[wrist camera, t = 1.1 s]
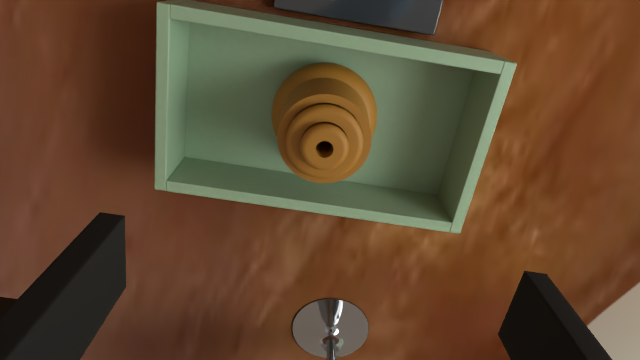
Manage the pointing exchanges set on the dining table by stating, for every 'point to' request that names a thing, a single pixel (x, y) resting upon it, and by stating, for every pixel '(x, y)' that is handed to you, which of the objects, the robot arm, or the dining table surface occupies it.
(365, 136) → the ornamental finial
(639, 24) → the dining table surface
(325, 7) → the slate tile
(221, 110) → the tote
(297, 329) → the metal goblet
